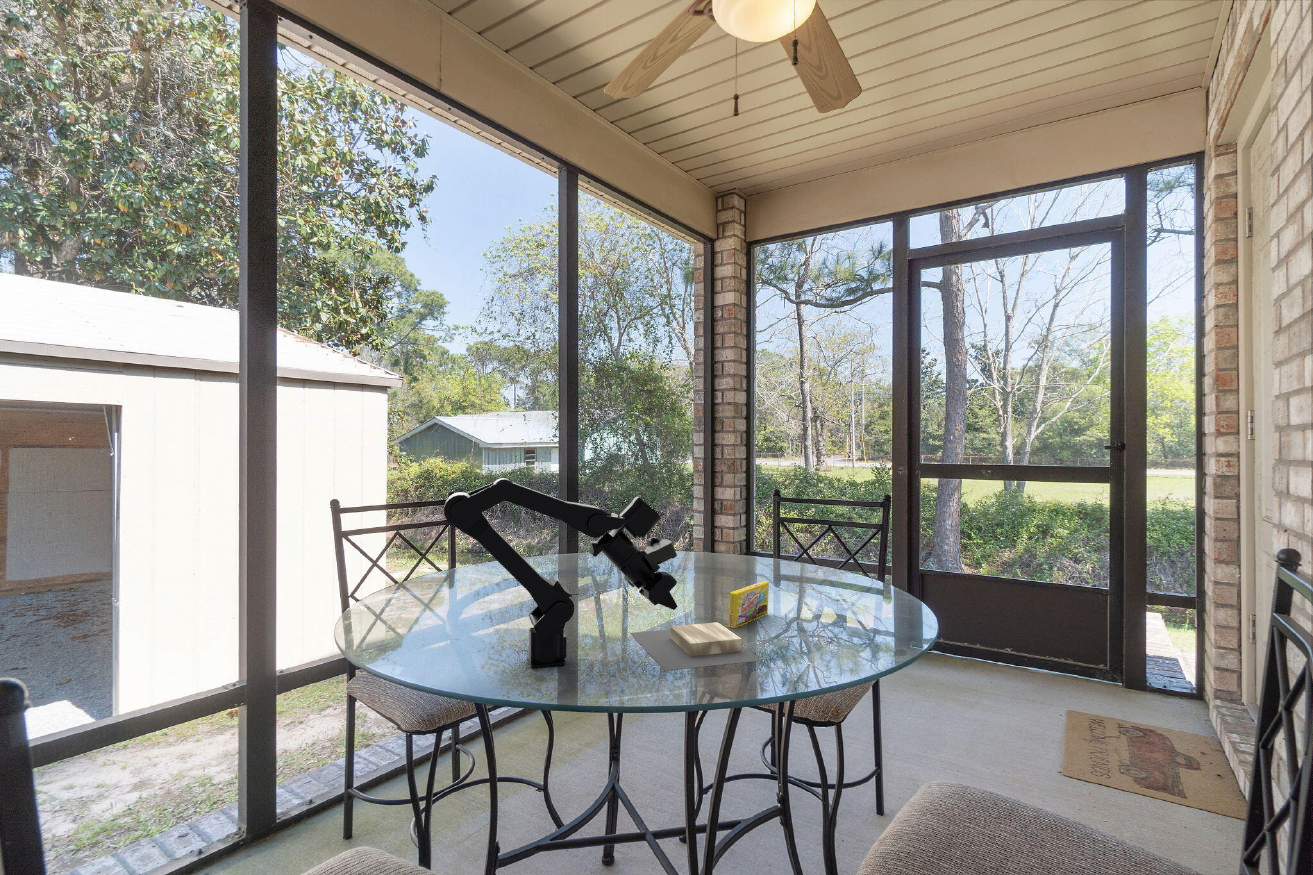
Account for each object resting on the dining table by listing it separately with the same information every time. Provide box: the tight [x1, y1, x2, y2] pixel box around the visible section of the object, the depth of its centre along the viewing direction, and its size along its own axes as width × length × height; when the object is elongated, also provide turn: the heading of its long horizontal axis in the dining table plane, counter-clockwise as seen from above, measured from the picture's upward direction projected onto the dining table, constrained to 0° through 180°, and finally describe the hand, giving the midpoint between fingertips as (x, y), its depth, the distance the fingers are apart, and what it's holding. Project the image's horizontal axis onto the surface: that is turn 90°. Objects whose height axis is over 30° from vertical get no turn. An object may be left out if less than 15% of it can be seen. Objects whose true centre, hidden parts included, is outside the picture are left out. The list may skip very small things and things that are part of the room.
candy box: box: [727, 580, 770, 629], centre depth 152 cm, size 16×2×8 cm, turn 143°
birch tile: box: [669, 621, 742, 656], centre depth 133 cm, size 2×12×11 cm
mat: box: [629, 629, 762, 672], centre depth 132 cm, size 20×24×1 cm
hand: (675, 607), depth 131 cm, fingers closed
